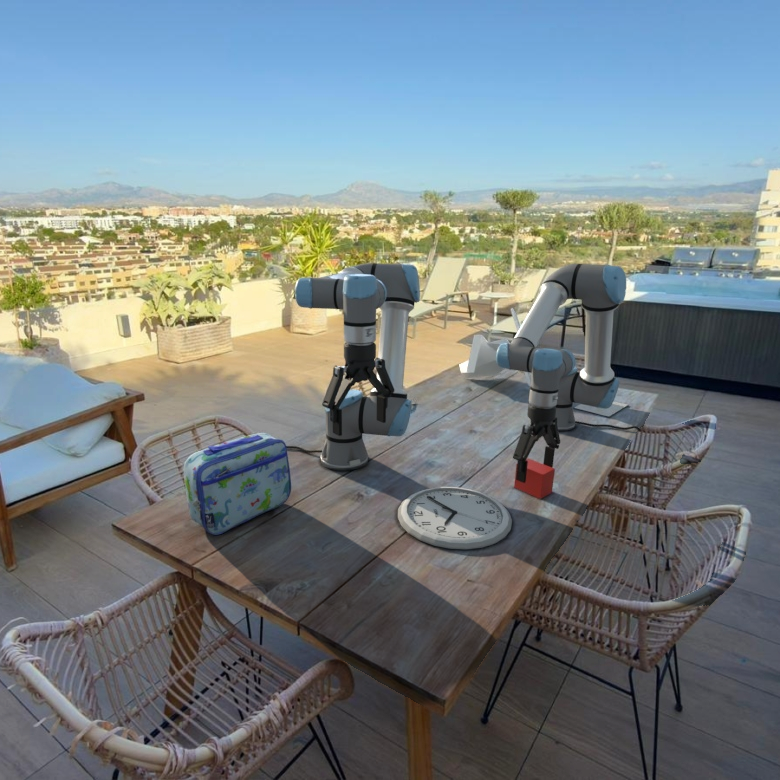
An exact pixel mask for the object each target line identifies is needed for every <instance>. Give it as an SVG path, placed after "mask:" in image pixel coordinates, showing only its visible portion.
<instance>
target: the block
mask: <svg viewBox="0 0 780 780" xmlns="http://www.w3.org/2000/svg"><path fill="white" fill-rule="evenodd" d="M526 460H527V461H528V465H527V474H526V482H525V483H523V482H520V481H518V480H516V474H517V463H516V464H515V472H514V473H515V475H514V485H513V488H514V489H517V490H518V491H521V492H523V493H525V494H528V495H531V496H532V497H535V498H537V499H539V500H542V499H543V498H545V497H547V496H549V495H550V494H552V493H553V487H554V481H555V480H554V478H555V471H556V470H555V469H556V468H554V467H553V468H552V467H549V466H547V465H544V464H543V463H542V462H539V461H536V460H533V459H530V458H527V459H526Z"/></svg>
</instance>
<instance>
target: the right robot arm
mask: <svg viewBox="0 0 780 780" xmlns="http://www.w3.org/2000/svg"><path fill="white" fill-rule="evenodd" d="M626 290H627V275H626V272H625V270H624V269H623V268H622V267H621V266H617V265H611V264H591V263H577V262H576V263H570V264H567V265H563V266H561V267H560V268H557V269H556V270H555V271H553V272H552V273H550V274H549V275H548V276H547V277H546V278H545V280H544V281H542V284H541V285H540V286H539V289H538V296H537V298H536V300H535V301H534V303H533V305H532V306H531V308H530V310H529V312H528V313H527V315H526V317H525V318H524V320H523V322H522V323H521V324H520V326H521V327H520V329H519V330H518V331H517V332H516V334H515V335H514V337H513V339H512V340H511V342H509V343H510V344H509V343H503V344H501V345H500V346H499V347H498V349H497V353H496V361H497V364H498V366H500V367H503V368H505V369H507V370H510V371H519V372H523V373H524V372H529V373H530V374H531V386H529V394H528V395H529V396H528V406H527V418H529V420H530V422H529V425H527V424H523V425H522V428H521V434H520V436H519V439H518V442H517V445H516V446H515V449H514V452H513V455H512V459H513V460H516V461H517V463H516V464H517V474H516V480H518V481H520V482H523V483H525V482H526V474H527V465H528V461H527V460H526V459H528V458H529V456H530V453H531V452H532V449H533V448H534V446H535V444H536V442H538V441H539V440H540V439H541V438H542V437H543V439H544V441H545V443H546V446H545V447H544V455H543V463H542V464H544V465H547V466H549V467H552V468H554V467H553V466H554V461H555V460H554V459H555V451H556V449H557V450H558V449H559V448H560V444H561V437H560V432H567V431H572V430H574V429H575V428H576V424H578V425H582V426H588V427H596V428H598V427H599V428H600V427H601V428H605V427H606V428H613V429H616V430H623V431H628V430H633V429H636V430H637V431H642V429H641V428H640V427H638V426H636V425H632V426H627V427H622V426H617V425H614V424H613V425H612V424H603V423H601V424H595V423H588V422H582V421H579V420H578V421H577V420H576V418H575V417H576V416H575V413H574V407H573V405H574V404H578V405H580V404H583V405H588V406H593V407H597V408H605V409H607V408H609V407H611V405H612V403H613V401H614V402H615V399H616V396H617V394H618V390H619V387H620V379H619V378H617V377H615V371H614V370H613V369H612V368H611V362H612V361H611V359H612V346H613V345H612V344H613V330H614V329H613V326H614V312H615V310H616V309H618V307H620V304H621V303H623V302H624V300H625V298H626ZM567 300H579V301H581V309H583V310H584V311H585V335H584V337H585V338H584V340H585V341H584V367H583V368H581V370H580V371H578V368H577V366H576V364H577V363H576V357H575V355H574V354H573V352H572V351H571V350H568V349H566V348H560V349H555V348H545V347H543V348H539V347H538V346H539V345H540V342H541V340H542V339H543V337H544V336H545V333H546V331H547V330H548V328H549V326H550V324H551V322H552V321H553V319H554V317H555V315H556V314H557V312H558V310H559V308H560V306H563V305H564V304H565V303H566V302H567Z"/></svg>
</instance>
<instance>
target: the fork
mask: <svg viewBox="0 0 780 780" xmlns="http://www.w3.org/2000/svg"><path fill="white" fill-rule="evenodd" d="M418 398H419V397H418V396H413V397H412V398H411V402H412V405H416V404H417V402H418Z"/></svg>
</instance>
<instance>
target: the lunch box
mask: <svg viewBox="0 0 780 780" xmlns="http://www.w3.org/2000/svg"><path fill="white" fill-rule="evenodd" d="M286 446H287V445H286V442H285V441H284V440H282V439H280V438H275V437H274V436H272V435H271V434H270V433H267V432H257V433H253V434H249V435H244V436H242V437H237V438H235V439H232V440H231V439H230V440H227V441H225V442H221V443H218V444H216V445H209V446H208V447H206V448H204V449H201V450H198V451H196V452H193V453H192V454H190V455H189V456H188V458H187V459H186V460H185V462H184V465H183V477H184V478H183V479H184V486H185V493H186V501H187V507H188V513H189V516H190V518H191V520H192V521H193V522H195V523H197V525H200V527H202V528H203V529H204V530H205V531H206V532H207V533H209V534H210V535H213V536H219V535H221V534H223V533H225V532H227V531H229V530H231V529H233V528H235V527H237V526H240V525H242V524H244V523H246V522H248V521H250V520H251V519H254V518H255V517H258V516H260V515H263V514H265V513H266V512H269V511H271V510H272V511H273V510H274V509H276V508H279V507H280V506H282V505H284V504H285V503H286V502H287V501H288V500H289V498H290V496H291V493H292V478H291V470H290V469H291V468H290V462H289V457H288V448H286Z"/></svg>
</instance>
